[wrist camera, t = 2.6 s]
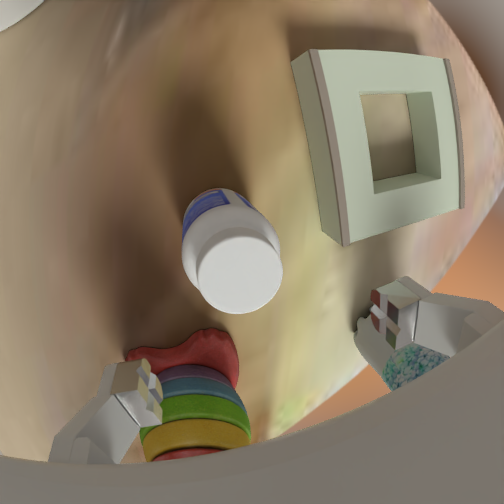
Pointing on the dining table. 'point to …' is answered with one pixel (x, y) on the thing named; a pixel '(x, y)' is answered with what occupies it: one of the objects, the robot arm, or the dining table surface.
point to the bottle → (394, 356)
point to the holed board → (356, 143)
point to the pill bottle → (230, 252)
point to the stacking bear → (195, 398)
